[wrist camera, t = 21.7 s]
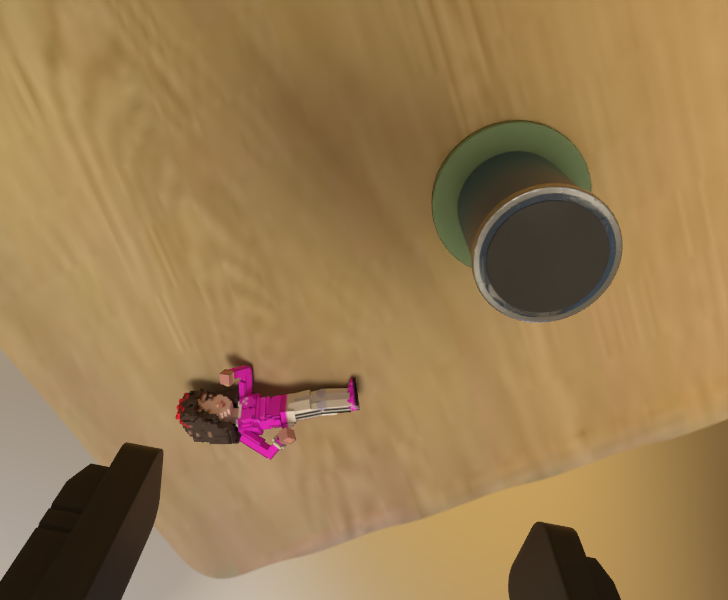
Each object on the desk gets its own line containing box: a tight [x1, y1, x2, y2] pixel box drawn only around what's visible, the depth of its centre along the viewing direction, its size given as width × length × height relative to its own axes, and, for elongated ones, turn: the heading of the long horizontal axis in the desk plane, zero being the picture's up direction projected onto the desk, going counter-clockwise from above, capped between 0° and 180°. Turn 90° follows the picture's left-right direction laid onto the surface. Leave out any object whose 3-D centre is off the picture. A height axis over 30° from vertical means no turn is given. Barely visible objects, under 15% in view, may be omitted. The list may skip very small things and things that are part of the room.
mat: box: [432, 121, 591, 268], centre depth 33 cm, size 9×9×1 cm
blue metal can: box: [458, 151, 622, 323], centre depth 29 cm, size 8×7×7 cm
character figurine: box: [176, 365, 360, 460], centre depth 37 cm, size 6×5×12 cm
